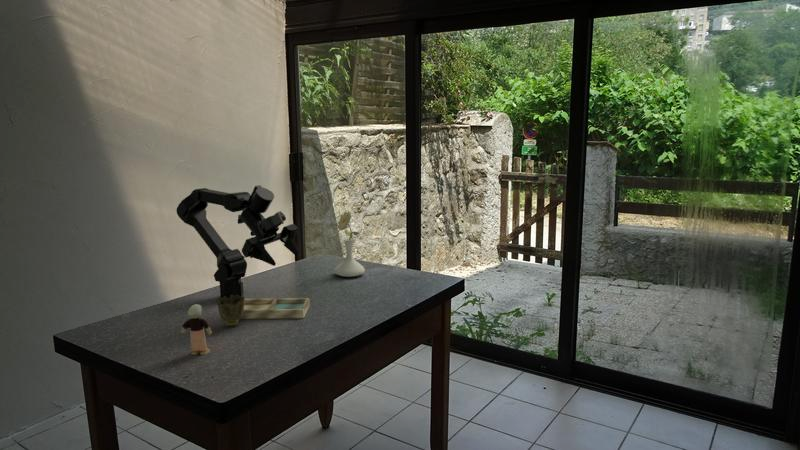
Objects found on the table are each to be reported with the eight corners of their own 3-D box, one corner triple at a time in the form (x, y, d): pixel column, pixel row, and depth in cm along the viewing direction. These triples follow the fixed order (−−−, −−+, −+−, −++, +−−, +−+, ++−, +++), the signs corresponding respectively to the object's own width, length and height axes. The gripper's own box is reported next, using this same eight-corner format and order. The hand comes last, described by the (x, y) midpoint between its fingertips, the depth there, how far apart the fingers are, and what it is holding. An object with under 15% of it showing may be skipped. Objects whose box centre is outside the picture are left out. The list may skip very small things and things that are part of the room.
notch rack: (233, 318, 166) (232, 310, 165) (243, 306, 177) (243, 298, 176) (303, 318, 166) (303, 310, 165) (309, 305, 177) (309, 298, 176)
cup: (221, 331, 156) (219, 304, 154) (216, 323, 162) (214, 296, 161) (248, 327, 159) (246, 300, 158) (242, 319, 165) (241, 293, 164)
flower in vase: (334, 271, 216) (332, 207, 212) (364, 270, 218) (363, 206, 213) (334, 281, 204) (332, 213, 199) (366, 279, 205) (364, 212, 200)
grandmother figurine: (215, 348, 144) (212, 301, 142) (212, 354, 141) (209, 306, 138) (184, 350, 143) (180, 303, 141) (180, 356, 140) (176, 308, 137)
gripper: (239, 213, 162) (270, 252, 157) (288, 198, 176) (319, 234, 171) (229, 238, 169) (259, 276, 164) (277, 222, 182) (306, 257, 178)
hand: (287, 260), depth 169 cm, fingers open, 9 cm apart
